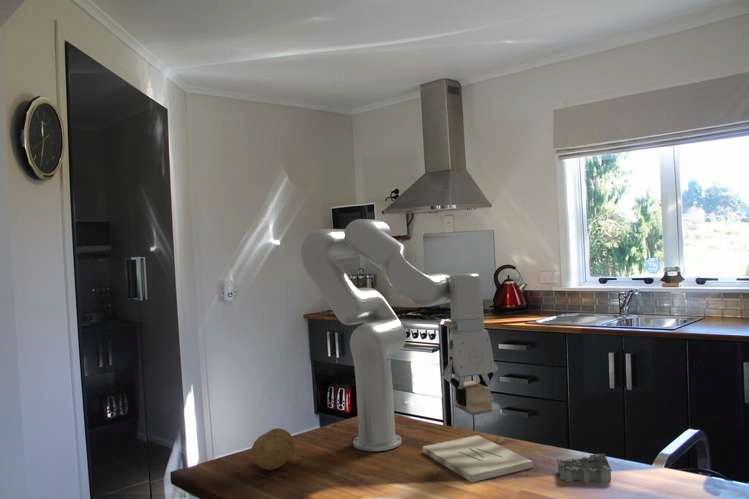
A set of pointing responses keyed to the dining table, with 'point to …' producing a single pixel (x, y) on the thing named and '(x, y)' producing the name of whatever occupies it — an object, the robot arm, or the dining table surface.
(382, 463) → the dining table surface
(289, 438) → the potato
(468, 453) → the board
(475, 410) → the block
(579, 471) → the egg carton
